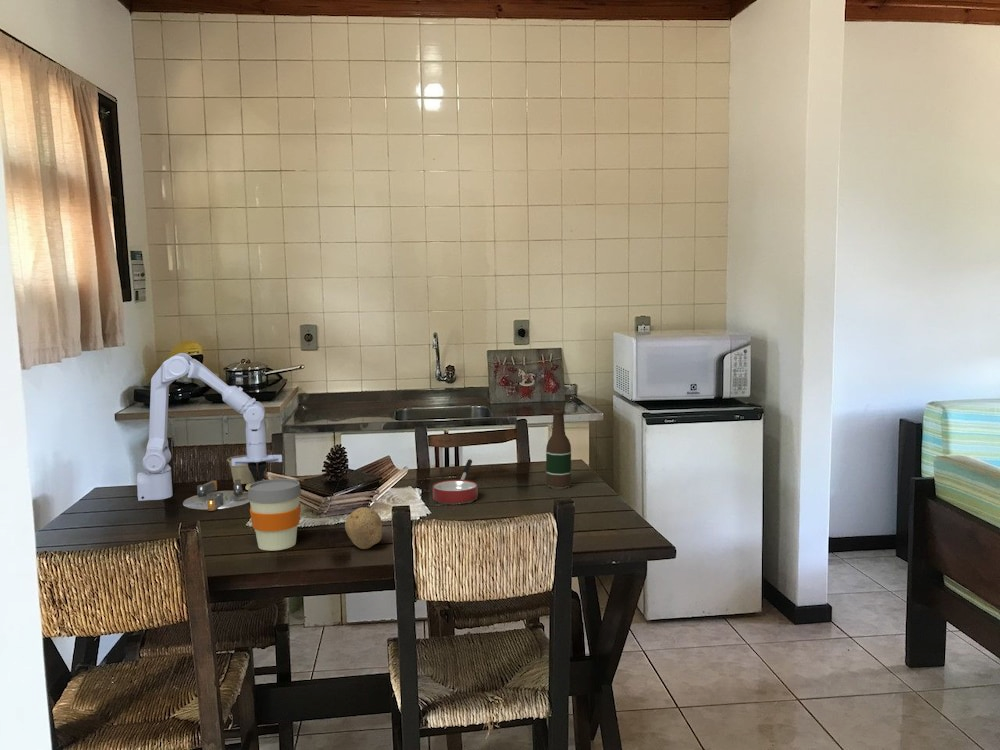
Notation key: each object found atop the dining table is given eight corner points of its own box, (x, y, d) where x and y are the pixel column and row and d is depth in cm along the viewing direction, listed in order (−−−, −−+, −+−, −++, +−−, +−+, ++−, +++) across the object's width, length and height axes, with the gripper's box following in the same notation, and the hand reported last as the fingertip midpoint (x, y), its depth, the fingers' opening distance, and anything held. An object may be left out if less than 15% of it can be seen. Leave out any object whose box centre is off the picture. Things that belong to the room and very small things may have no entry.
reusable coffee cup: (299, 551, 198) (296, 490, 196) (245, 554, 197) (241, 492, 195) (306, 535, 210) (304, 477, 209) (256, 537, 210) (253, 479, 208)
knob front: (216, 502, 237) (215, 492, 236) (224, 502, 237) (224, 492, 236) (205, 511, 228) (205, 500, 228) (214, 511, 228) (214, 500, 228)
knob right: (242, 494, 245) (242, 484, 244) (234, 495, 244) (233, 485, 244) (242, 488, 253) (241, 478, 252) (234, 488, 252) (233, 479, 252)
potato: (349, 542, 205) (348, 502, 204) (385, 541, 205) (384, 502, 204) (343, 554, 196) (341, 513, 194) (381, 553, 196) (379, 512, 195)
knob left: (203, 497, 243) (202, 487, 243) (195, 496, 243) (195, 486, 243) (218, 489, 251) (218, 480, 251) (211, 489, 252) (211, 479, 251)
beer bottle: (554, 482, 261) (554, 406, 258) (576, 485, 256) (576, 408, 253) (541, 487, 254) (540, 409, 251) (563, 491, 250) (562, 412, 247)
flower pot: (254, 488, 258) (253, 461, 256) (224, 489, 258) (222, 461, 257) (263, 481, 267) (262, 454, 266) (234, 481, 267) (233, 455, 266)
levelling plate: (180, 516, 229) (180, 507, 229) (185, 498, 248) (184, 490, 247) (256, 509, 235) (256, 501, 234) (255, 491, 254) (254, 484, 253)
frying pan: (442, 478, 268) (441, 459, 267) (482, 478, 267) (482, 458, 267) (430, 506, 236) (429, 484, 235) (476, 505, 236) (475, 483, 235)
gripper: (230, 447, 243) (233, 492, 245) (281, 443, 248) (283, 487, 249) (230, 442, 250) (233, 486, 252) (280, 439, 254) (282, 482, 256)
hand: (258, 487), depth 251 cm, fingers closed
